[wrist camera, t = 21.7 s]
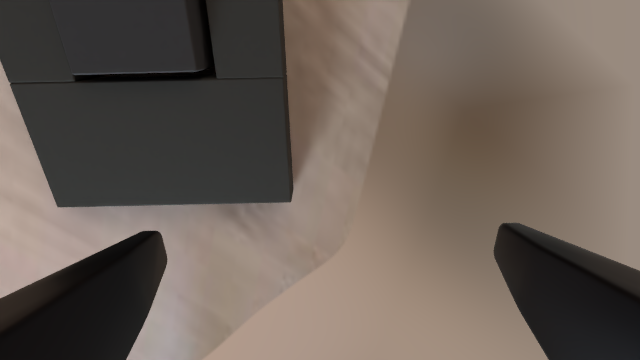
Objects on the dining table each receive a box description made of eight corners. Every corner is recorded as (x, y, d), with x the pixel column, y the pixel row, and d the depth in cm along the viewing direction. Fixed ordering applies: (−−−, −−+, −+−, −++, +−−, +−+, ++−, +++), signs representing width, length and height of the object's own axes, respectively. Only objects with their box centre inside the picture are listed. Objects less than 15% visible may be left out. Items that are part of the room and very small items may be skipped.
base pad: (278, -75, 16) (272, -90, 14) (293, 188, 21) (291, 202, 19) (-13, -69, 16) (-56, -83, 14) (79, 193, 21) (57, 207, 20)
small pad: (196, -64, 16) (171, -85, 13) (215, 66, 18) (197, 71, 16) (73, -61, 16) (22, -81, 13) (108, 69, 18) (71, 75, 16)
